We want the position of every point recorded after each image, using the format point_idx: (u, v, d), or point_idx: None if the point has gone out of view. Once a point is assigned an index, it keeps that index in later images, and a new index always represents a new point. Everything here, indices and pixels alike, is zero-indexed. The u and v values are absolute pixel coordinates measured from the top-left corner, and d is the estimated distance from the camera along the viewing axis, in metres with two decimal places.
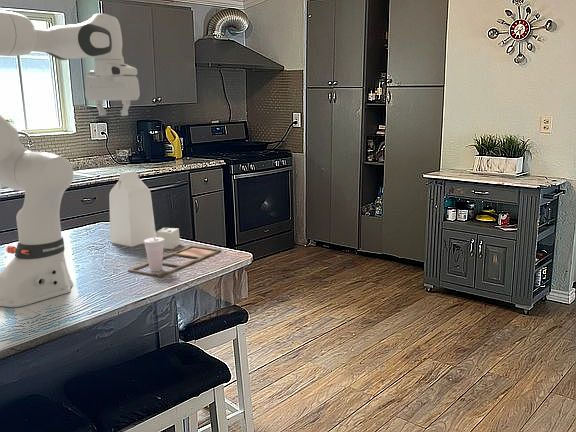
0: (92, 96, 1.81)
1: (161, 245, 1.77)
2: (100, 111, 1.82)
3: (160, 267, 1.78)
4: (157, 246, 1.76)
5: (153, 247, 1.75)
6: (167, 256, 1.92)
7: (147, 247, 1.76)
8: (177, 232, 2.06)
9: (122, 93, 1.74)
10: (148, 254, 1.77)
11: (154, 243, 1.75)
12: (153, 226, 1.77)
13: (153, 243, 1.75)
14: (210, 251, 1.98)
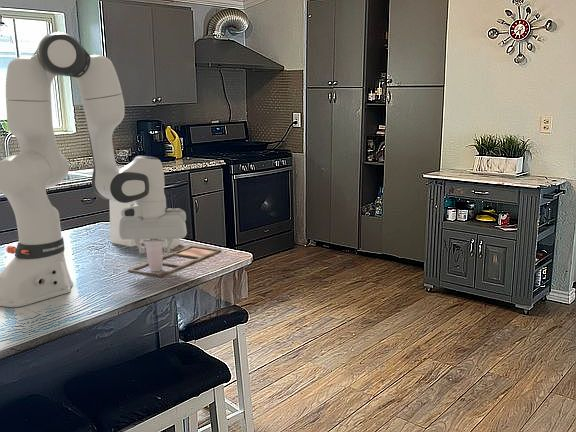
0: None
1: (161, 245, 1.77)
2: None
3: (160, 267, 1.78)
4: (157, 246, 1.76)
5: (153, 247, 1.75)
6: (167, 256, 1.92)
7: (147, 247, 1.76)
8: None
9: None
10: (148, 254, 1.77)
11: (154, 243, 1.75)
12: None
13: (153, 243, 1.75)
14: (210, 251, 1.98)
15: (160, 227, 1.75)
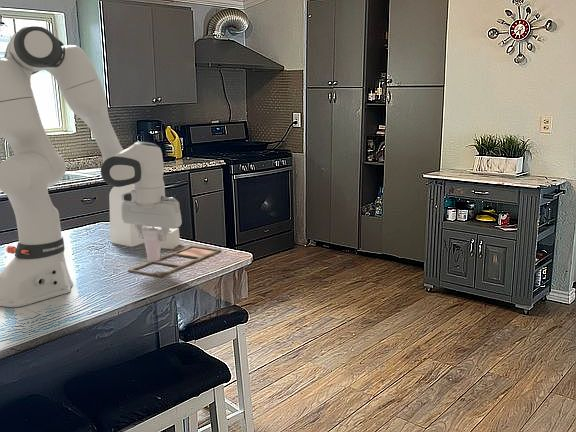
0: None
1: (156, 235, 1.75)
2: None
3: (155, 257, 1.77)
4: (151, 236, 1.74)
5: (147, 236, 1.74)
6: (167, 256, 1.92)
7: (143, 235, 1.76)
8: (177, 232, 2.06)
9: None
10: None
11: (148, 232, 1.74)
12: None
13: (147, 232, 1.74)
14: (210, 251, 1.98)
15: (154, 215, 1.73)
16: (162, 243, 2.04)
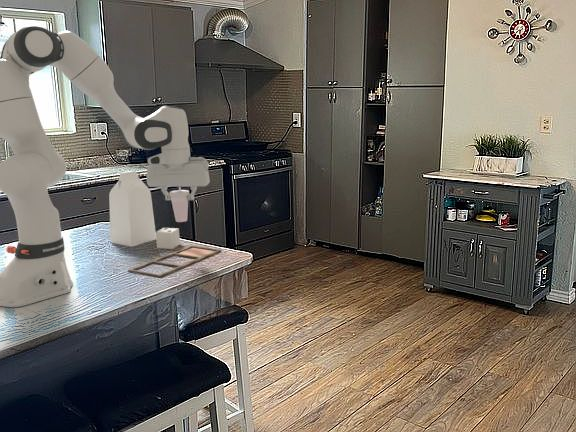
0: None
1: (185, 197, 1.85)
2: None
3: (184, 218, 1.86)
4: (181, 197, 1.84)
5: (177, 198, 1.84)
6: (167, 256, 1.92)
7: (172, 198, 1.84)
8: (177, 232, 2.06)
9: None
10: (173, 205, 1.85)
11: (178, 194, 1.83)
12: None
13: (177, 194, 1.83)
14: (210, 251, 1.98)
15: (183, 175, 1.83)
16: (162, 243, 2.04)
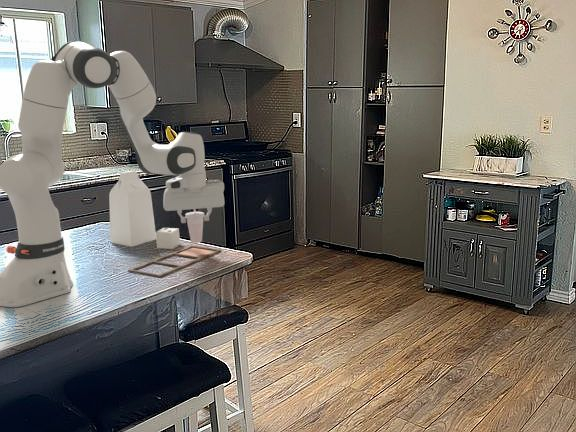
0: None
1: (202, 218, 1.93)
2: None
3: (201, 238, 1.95)
4: (200, 219, 1.92)
5: (196, 220, 1.91)
6: (167, 256, 1.92)
7: (190, 220, 1.91)
8: (177, 232, 2.06)
9: None
10: (191, 227, 1.92)
11: (198, 216, 1.91)
12: None
13: (197, 216, 1.91)
14: (210, 251, 1.98)
15: (202, 197, 1.91)
16: (162, 243, 2.04)
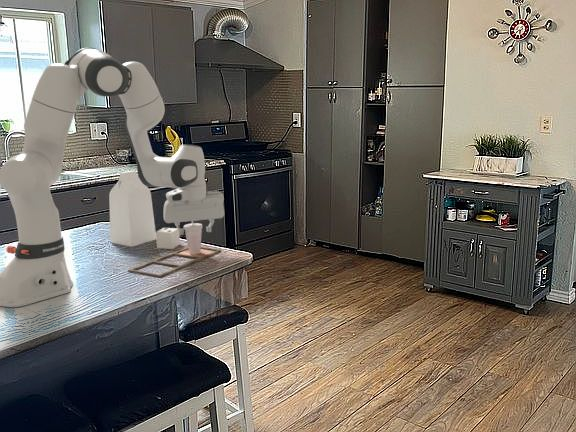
0: None
1: (201, 229, 1.94)
2: None
3: (199, 250, 1.95)
4: (198, 230, 1.93)
5: (195, 232, 1.92)
6: (167, 256, 1.92)
7: (189, 232, 1.92)
8: (177, 232, 2.06)
9: None
10: (190, 239, 1.93)
11: (197, 228, 1.92)
12: None
13: (196, 228, 1.92)
14: (210, 251, 1.98)
15: (202, 209, 1.93)
16: (162, 243, 2.04)
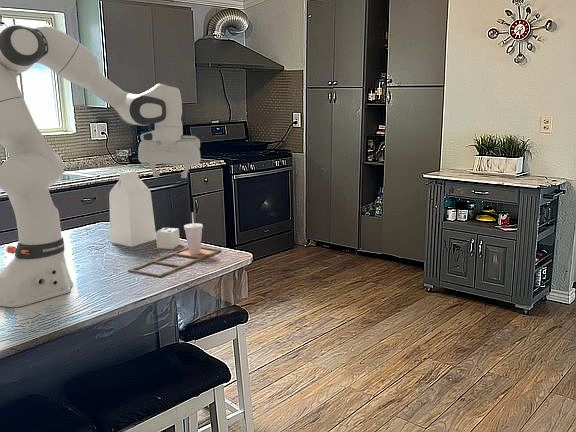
0: None
1: (201, 229, 1.94)
2: None
3: (199, 250, 1.95)
4: (199, 230, 1.93)
5: (196, 232, 1.92)
6: (167, 256, 1.92)
7: (189, 232, 1.92)
8: (177, 232, 2.06)
9: None
10: (190, 239, 1.93)
11: (197, 228, 1.92)
12: (192, 213, 1.94)
13: (196, 228, 1.92)
14: (210, 251, 1.98)
15: (175, 153, 1.86)
16: (162, 243, 2.04)
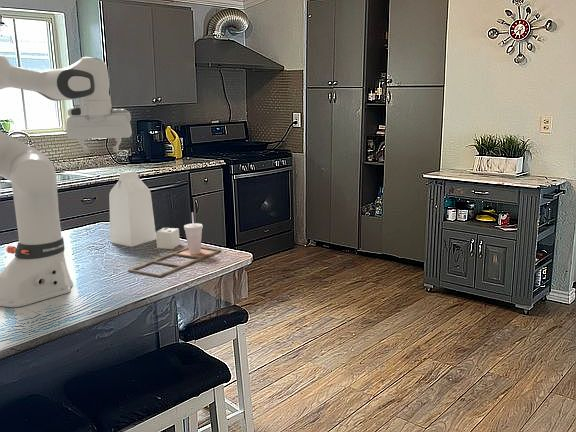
0: None
1: (201, 229, 1.94)
2: None
3: (199, 250, 1.95)
4: (199, 230, 1.93)
5: (196, 232, 1.92)
6: (167, 256, 1.92)
7: (189, 232, 1.92)
8: (177, 232, 2.06)
9: None
10: (190, 239, 1.93)
11: (197, 228, 1.92)
12: (192, 213, 1.94)
13: (196, 228, 1.92)
14: (210, 251, 1.98)
15: (106, 127, 1.85)
16: (162, 243, 2.04)
